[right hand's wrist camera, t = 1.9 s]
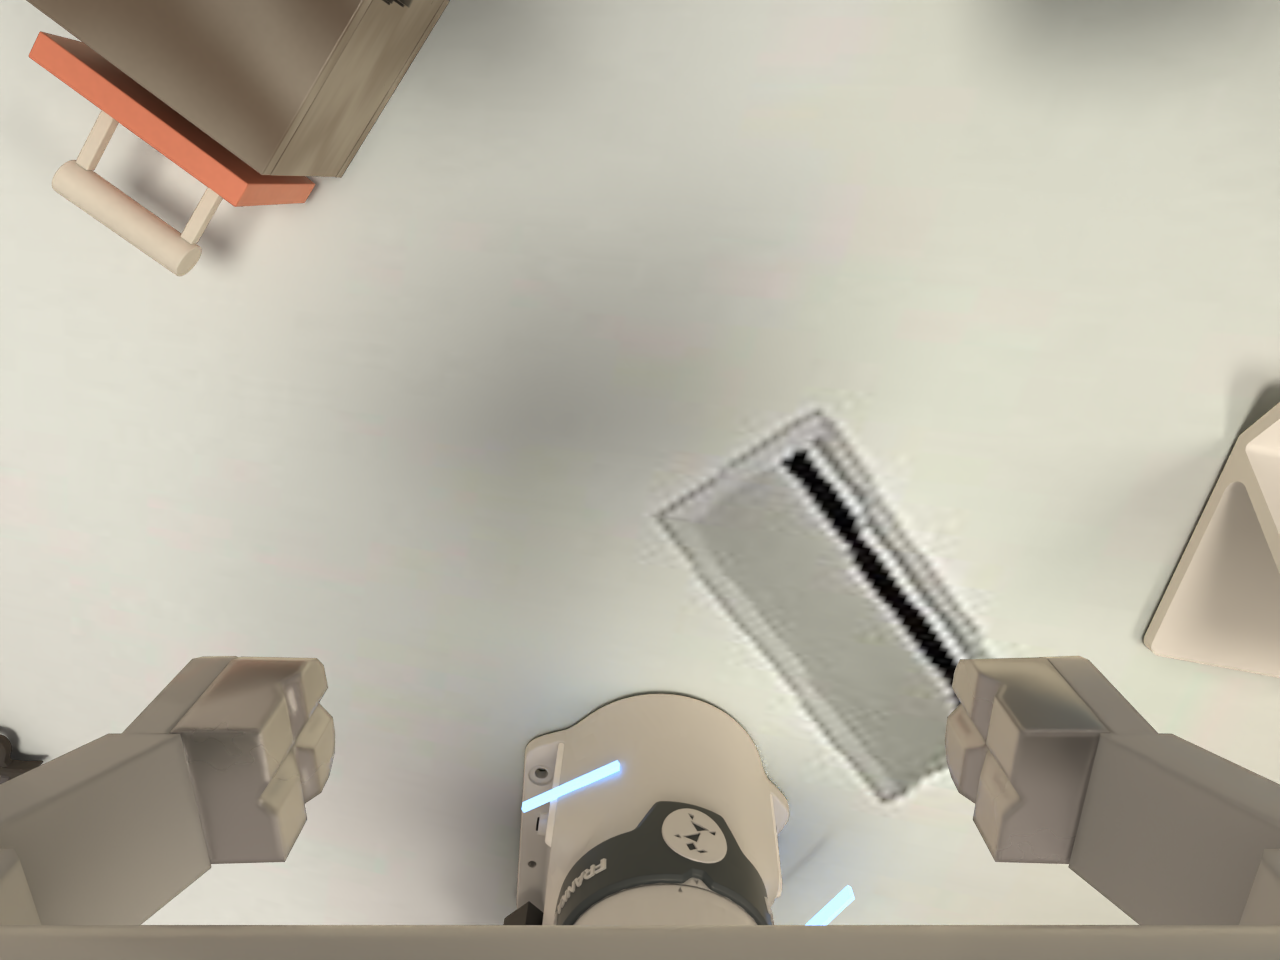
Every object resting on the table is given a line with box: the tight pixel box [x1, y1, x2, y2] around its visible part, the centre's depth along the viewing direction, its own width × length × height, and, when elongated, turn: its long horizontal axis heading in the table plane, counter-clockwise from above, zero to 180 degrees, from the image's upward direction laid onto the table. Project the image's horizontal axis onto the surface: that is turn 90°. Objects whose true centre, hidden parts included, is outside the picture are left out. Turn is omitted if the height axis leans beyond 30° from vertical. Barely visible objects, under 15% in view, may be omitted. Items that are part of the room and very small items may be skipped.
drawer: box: [29, 32, 315, 276], centre depth 37 cm, size 20×10×8 cm, turn 142°
